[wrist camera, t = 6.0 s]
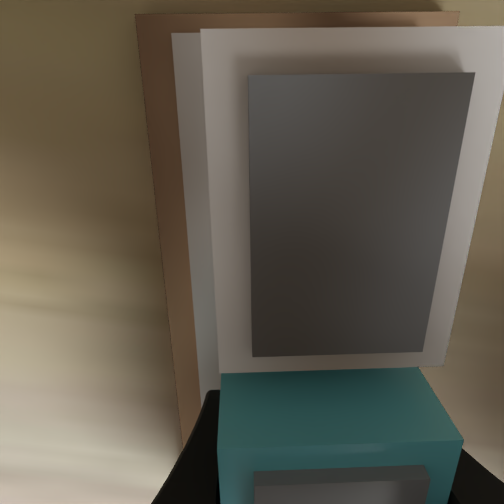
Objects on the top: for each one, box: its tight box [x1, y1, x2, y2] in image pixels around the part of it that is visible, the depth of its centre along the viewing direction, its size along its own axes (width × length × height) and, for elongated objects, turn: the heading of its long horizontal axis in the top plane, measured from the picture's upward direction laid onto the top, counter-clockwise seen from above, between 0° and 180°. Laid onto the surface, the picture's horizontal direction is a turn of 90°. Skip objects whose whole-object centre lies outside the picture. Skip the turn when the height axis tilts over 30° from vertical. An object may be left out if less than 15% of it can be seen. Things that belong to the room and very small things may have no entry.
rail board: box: [135, 11, 504, 449], centre depth 13 cm, size 9×22×8 cm, turn 1°
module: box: [217, 367, 464, 504], centre depth 11 cm, size 4×6×6 cm
